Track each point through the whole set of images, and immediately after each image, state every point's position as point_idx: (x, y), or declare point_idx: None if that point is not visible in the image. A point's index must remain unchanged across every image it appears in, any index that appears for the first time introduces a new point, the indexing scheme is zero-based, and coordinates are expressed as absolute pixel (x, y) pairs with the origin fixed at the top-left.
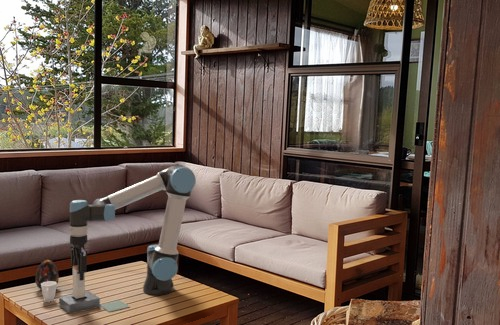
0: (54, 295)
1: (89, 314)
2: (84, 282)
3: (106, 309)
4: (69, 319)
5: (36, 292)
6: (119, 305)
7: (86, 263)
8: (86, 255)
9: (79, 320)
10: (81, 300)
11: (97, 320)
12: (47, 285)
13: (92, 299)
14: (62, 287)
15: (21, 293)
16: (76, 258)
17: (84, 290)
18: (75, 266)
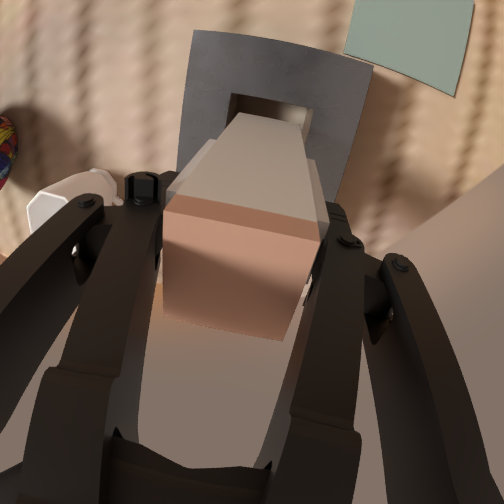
0: (98, 178)
1: (399, 165)
2: (304, 157)
3: (427, 83)
4: (368, 249)
5: (12, 183)
6: (432, 8)
7: (454, 356)
8: (492, 490)
9: (409, 232)
10: (318, 160)
11: (467, 191)
12: (43, 210)
13: (357, 108)
14: (4, 81)
15: (8, 222)
16: (134, 373)
17: (301, 137)
18: (208, 312)
